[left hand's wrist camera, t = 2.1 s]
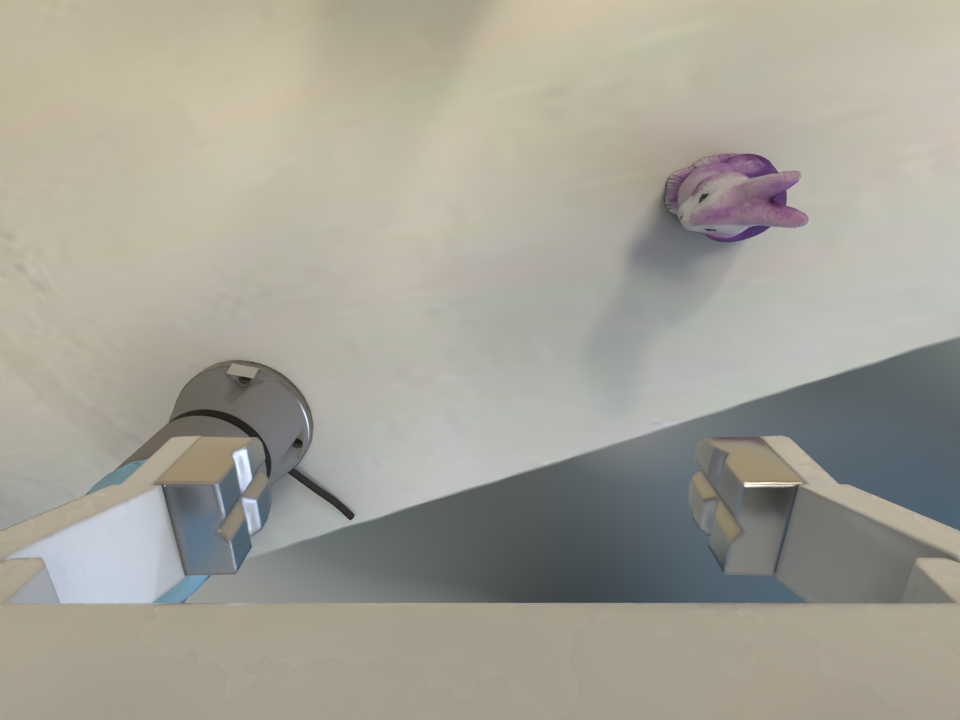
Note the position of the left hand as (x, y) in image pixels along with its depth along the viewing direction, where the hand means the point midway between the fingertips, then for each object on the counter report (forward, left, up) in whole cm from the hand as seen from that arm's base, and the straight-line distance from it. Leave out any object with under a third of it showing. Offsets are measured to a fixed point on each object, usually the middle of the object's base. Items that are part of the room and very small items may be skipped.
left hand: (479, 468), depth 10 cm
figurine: (-1, +23, -48) cm, 53 cm away
